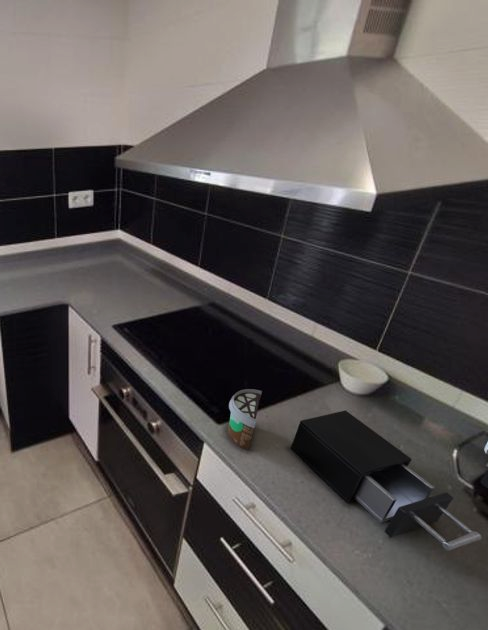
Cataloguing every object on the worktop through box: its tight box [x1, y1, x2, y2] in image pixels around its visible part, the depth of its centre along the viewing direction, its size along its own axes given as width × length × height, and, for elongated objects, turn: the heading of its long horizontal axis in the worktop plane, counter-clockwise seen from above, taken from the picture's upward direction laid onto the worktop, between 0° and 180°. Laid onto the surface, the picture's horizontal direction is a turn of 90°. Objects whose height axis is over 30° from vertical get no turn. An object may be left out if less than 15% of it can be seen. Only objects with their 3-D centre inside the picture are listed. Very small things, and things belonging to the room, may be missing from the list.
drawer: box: [353, 464, 482, 552], centre depth 71 cm, size 20×11×7 cm, turn 15°
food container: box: [227, 388, 263, 451], centre depth 90 cm, size 12×6×10 cm, turn 150°
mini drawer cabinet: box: [290, 410, 412, 504], centre depth 81 cm, size 15×13×9 cm
